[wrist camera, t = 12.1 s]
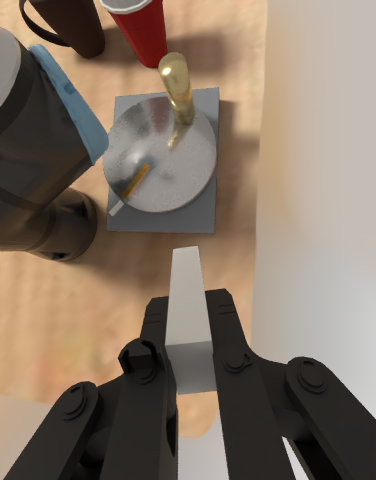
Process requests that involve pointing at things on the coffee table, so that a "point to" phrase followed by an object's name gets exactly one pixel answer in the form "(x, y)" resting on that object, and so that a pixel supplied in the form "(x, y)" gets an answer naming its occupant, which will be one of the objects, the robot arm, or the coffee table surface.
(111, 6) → the plastic cup
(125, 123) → the silver disc with stripe
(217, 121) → the stand
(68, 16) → the mug
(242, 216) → the coffee table surface
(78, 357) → the coffee table surface
